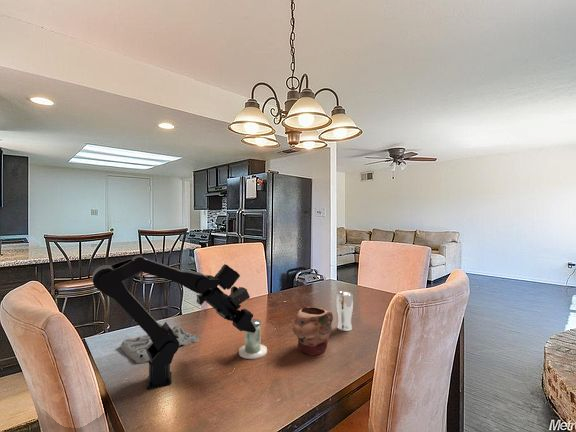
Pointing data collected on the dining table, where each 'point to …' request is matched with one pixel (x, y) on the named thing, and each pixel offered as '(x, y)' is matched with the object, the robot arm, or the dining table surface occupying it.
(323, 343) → the decorative planter
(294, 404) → the dining table surface
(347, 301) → the beer glass
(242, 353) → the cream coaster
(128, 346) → the wall plaque
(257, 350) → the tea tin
